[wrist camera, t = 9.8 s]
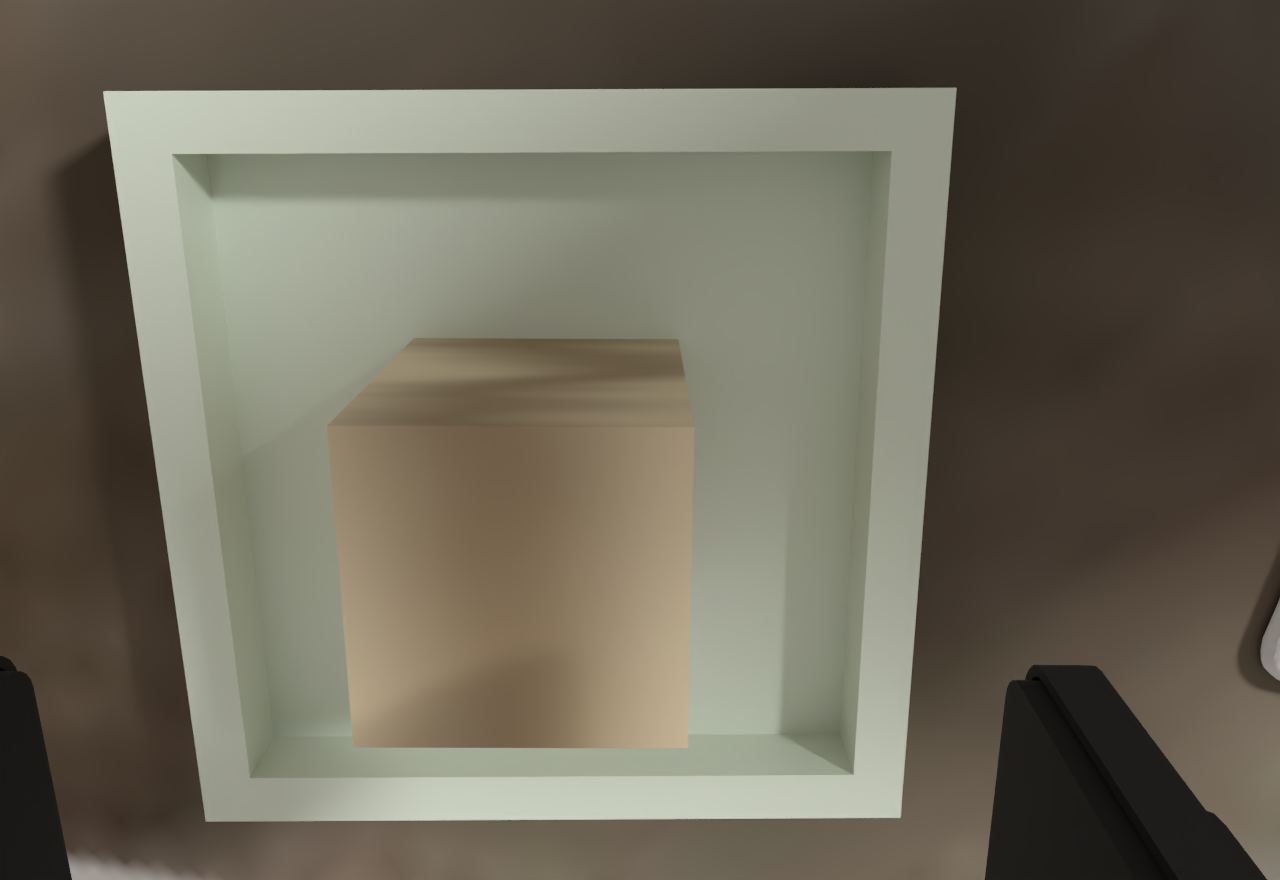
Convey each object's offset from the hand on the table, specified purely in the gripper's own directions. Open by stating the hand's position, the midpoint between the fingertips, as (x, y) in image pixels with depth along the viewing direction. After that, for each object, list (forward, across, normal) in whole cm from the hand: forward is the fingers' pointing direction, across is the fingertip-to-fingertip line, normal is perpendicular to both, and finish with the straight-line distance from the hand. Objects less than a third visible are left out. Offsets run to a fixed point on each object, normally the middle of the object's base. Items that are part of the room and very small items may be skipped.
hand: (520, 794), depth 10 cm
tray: (+12, +1, +1) cm, 12 cm away
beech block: (+11, +1, +1) cm, 11 cm away
